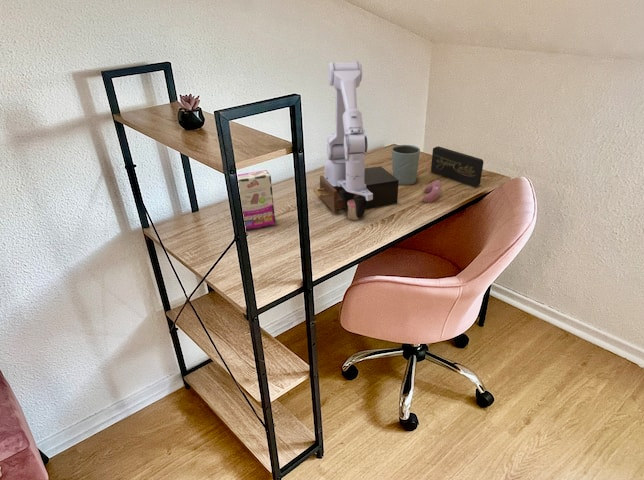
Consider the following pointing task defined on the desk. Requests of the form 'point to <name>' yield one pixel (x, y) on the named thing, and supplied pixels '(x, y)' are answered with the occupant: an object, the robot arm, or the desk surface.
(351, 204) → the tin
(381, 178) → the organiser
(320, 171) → the desk surface
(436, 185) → the pink curved piece
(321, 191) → the drawer
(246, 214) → the candy bar box
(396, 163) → the green cup
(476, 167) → the nameplate
